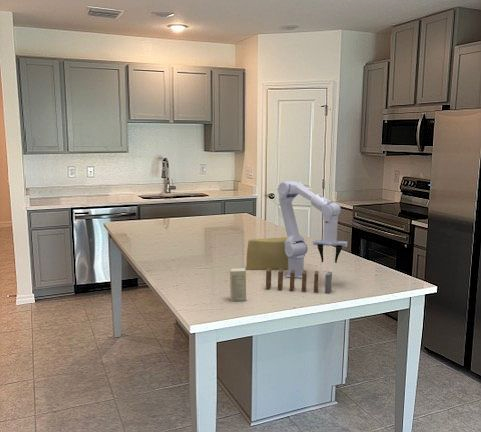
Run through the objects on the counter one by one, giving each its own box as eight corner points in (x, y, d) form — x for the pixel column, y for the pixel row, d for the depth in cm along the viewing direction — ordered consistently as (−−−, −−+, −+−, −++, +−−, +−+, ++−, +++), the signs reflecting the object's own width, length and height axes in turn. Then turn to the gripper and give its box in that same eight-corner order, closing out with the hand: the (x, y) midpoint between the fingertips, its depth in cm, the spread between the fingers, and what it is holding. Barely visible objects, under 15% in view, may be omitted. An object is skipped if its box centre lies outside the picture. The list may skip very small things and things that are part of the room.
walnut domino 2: (277, 290, 203) (278, 271, 201) (278, 286, 208) (279, 268, 206) (281, 290, 202) (281, 272, 201) (282, 287, 207) (283, 268, 206)
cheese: (249, 272, 229) (249, 241, 227) (244, 267, 238) (244, 237, 236) (293, 270, 234) (294, 239, 232) (286, 264, 244) (287, 235, 241)
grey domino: (324, 293, 200) (325, 274, 198) (327, 289, 204) (328, 271, 203) (328, 293, 199) (329, 275, 198) (331, 290, 204) (331, 271, 202)
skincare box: (245, 297, 193) (246, 267, 191) (246, 301, 189) (246, 270, 187) (229, 297, 193) (230, 267, 191) (229, 301, 189) (230, 270, 187)
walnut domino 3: (289, 291, 202) (290, 272, 201) (290, 287, 207) (291, 269, 205) (293, 291, 202) (293, 272, 200) (294, 287, 206) (294, 269, 205)
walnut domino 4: (301, 291, 201) (302, 273, 200) (302, 288, 206) (302, 270, 205) (305, 292, 201) (306, 273, 199) (306, 288, 206) (306, 270, 204)
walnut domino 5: (313, 292, 200) (314, 274, 199) (314, 289, 205) (314, 270, 204) (317, 293, 200) (318, 274, 199) (317, 289, 205) (318, 271, 203)
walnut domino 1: (265, 289, 204) (266, 271, 202) (267, 286, 209) (267, 268, 207) (269, 289, 203) (269, 271, 202) (271, 286, 208) (271, 268, 207)
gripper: (312, 232, 204) (311, 263, 206) (348, 233, 201) (346, 265, 203) (313, 229, 211) (312, 259, 213) (347, 230, 208) (346, 261, 210)
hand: (329, 262), depth 209 cm, fingers open, 5 cm apart
